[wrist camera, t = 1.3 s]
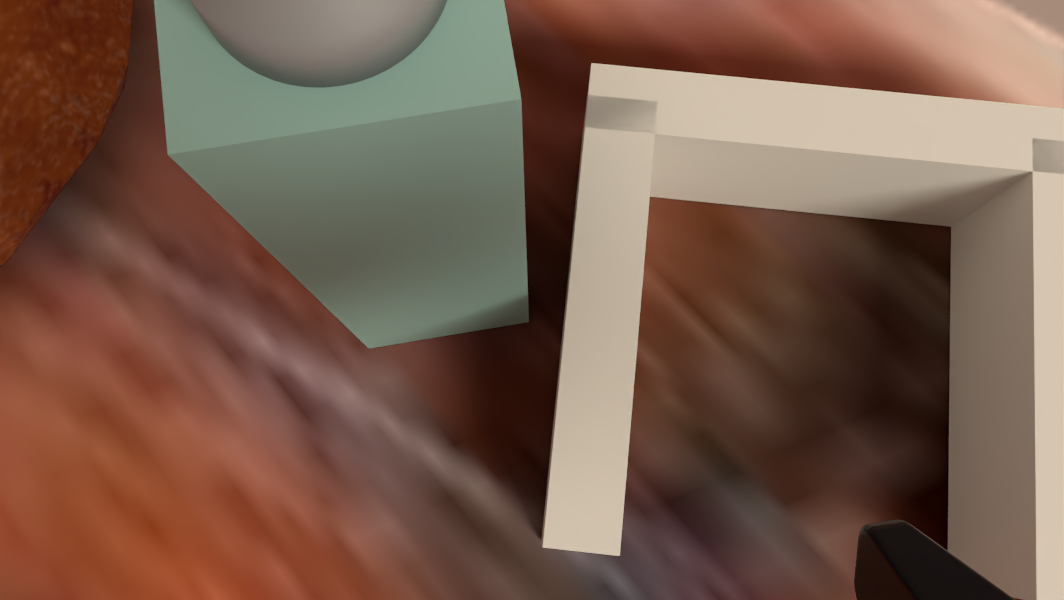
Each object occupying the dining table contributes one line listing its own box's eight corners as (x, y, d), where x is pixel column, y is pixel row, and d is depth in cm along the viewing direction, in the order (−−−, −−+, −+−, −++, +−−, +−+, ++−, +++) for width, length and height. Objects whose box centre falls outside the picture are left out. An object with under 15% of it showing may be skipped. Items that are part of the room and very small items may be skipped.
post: (529, 321, 23) (520, 57, 10) (368, 348, 23) (130, 118, 10) (503, 171, 24) (461, -268, 11) (348, 196, 24) (103, -216, 10)
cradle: (1012, 592, 22) (1115, 610, 18) (541, 540, 22) (542, 547, 18) (1010, 176, 24) (1102, 112, 20) (582, 134, 24) (591, 63, 20)
